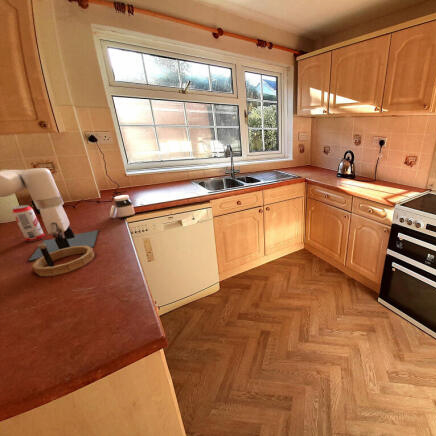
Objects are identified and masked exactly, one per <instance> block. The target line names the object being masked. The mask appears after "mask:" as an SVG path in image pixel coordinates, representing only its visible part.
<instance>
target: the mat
mask: <svg viewBox="0 0 436 436" xmlns="http://www.w3.org/2000/svg"><path fill="white" fill-rule="evenodd" d="M98 234H99V229H97V230H92V231H85V232H81V233H76V234H75V233H74V236H75V237H74V238H71V239H67V240H68V242H69V245H70V247H73V246H89V247H91V248H92V249H93V248H94V246H95V243H96V239H97V236H98ZM41 243H45V244H46V245H47V247H46V248H47V250H48V252H49V253H52V252H54V251H57V250H60V249H59V248H58V246H57V244H56V242H55V240H54V238H51V239H45V240H42V242H41ZM63 249H64V248H63ZM41 257H43V254H42V252H41V250H40V249H39V248H38V247H37V248H36V250H35V251H34V253H32V255H31V256H30V258H29V259H28V262H35V261H36V260H37V259H39V258H41Z"/></svg>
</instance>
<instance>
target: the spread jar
mask: <svg viewBox="0 0 436 436" xmlns="http://www.w3.org/2000/svg"><path fill="white" fill-rule="evenodd" d="M113 200H114V205H111V207H110V210H109V218H111V219H114V218H115V217H116V215H118V218H119V219H121V220H123V219H124V220H125V219H130V218H132V217H135V215H136V212H135V208H134V205H133V203H132V201H131V199H130V196H129V194H121V195H120V194H119V195H116V196H114V197H113Z"/></svg>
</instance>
